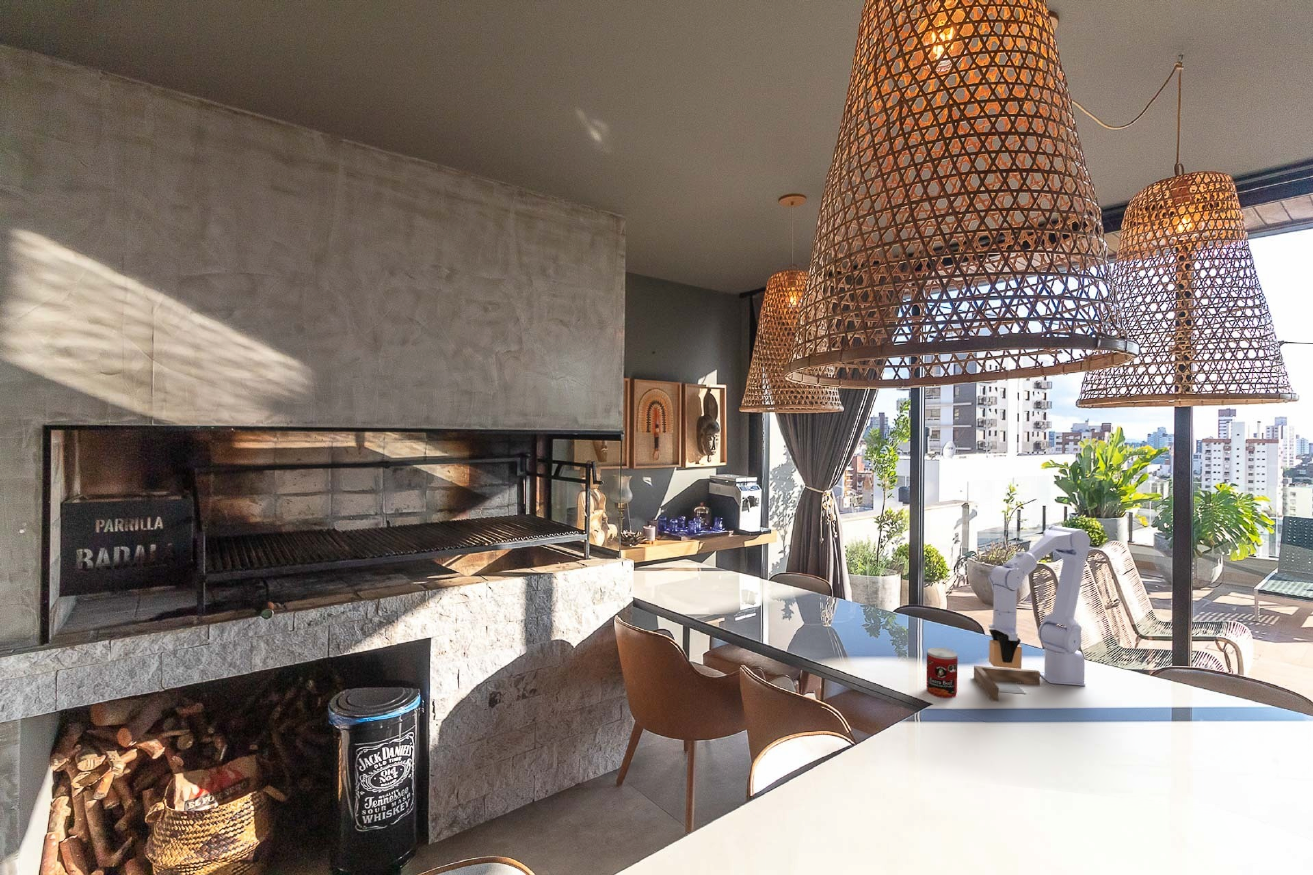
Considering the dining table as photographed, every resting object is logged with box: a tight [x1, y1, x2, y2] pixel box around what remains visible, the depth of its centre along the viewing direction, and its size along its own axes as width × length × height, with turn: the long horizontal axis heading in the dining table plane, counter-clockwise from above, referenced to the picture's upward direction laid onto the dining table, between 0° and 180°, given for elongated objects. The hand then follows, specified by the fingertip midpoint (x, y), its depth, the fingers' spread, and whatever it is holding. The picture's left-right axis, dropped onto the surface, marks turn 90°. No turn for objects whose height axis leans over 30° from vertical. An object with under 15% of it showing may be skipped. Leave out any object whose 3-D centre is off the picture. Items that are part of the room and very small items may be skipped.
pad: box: [993, 681, 1027, 695], centre depth 184 cm, size 9×8×1 cm
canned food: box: [926, 647, 959, 699], centre depth 179 cm, size 8×8×11 cm
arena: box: [973, 665, 1041, 702], centre depth 181 cm, size 17×17×4 cm
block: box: [988, 639, 1023, 669], centre depth 183 cm, size 4×7×6 cm, turn 78°
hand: (1004, 659), depth 183 cm, fingers closed on block, 4 cm apart
